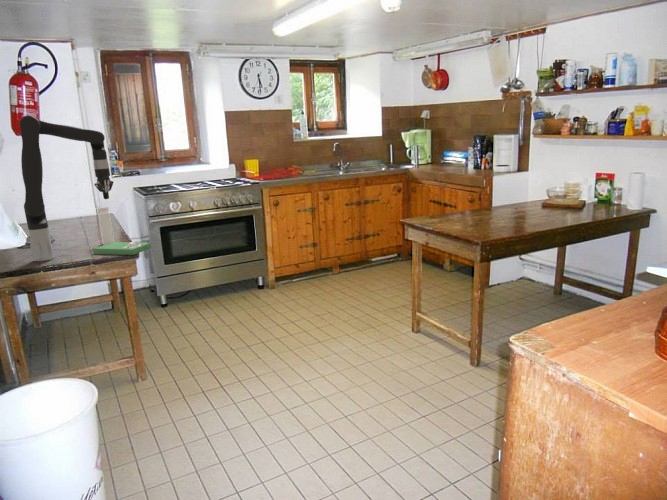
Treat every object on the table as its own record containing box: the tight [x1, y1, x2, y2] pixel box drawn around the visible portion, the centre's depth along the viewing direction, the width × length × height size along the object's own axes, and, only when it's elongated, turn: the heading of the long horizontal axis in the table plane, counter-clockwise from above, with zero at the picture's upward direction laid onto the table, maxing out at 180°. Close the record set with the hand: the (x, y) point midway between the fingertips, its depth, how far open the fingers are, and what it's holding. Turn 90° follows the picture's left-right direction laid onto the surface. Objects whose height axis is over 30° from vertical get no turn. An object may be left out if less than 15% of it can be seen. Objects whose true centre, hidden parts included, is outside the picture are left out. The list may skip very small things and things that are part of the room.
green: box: [92, 241, 152, 256], centre depth 278 cm, size 16×26×3 cm, turn 74°
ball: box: [127, 241, 137, 247], centre depth 276 cm, size 5×5×5 cm
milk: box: [97, 207, 115, 245], centre depth 297 cm, size 6×6×22 cm
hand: (106, 198), depth 278 cm, fingers closed
